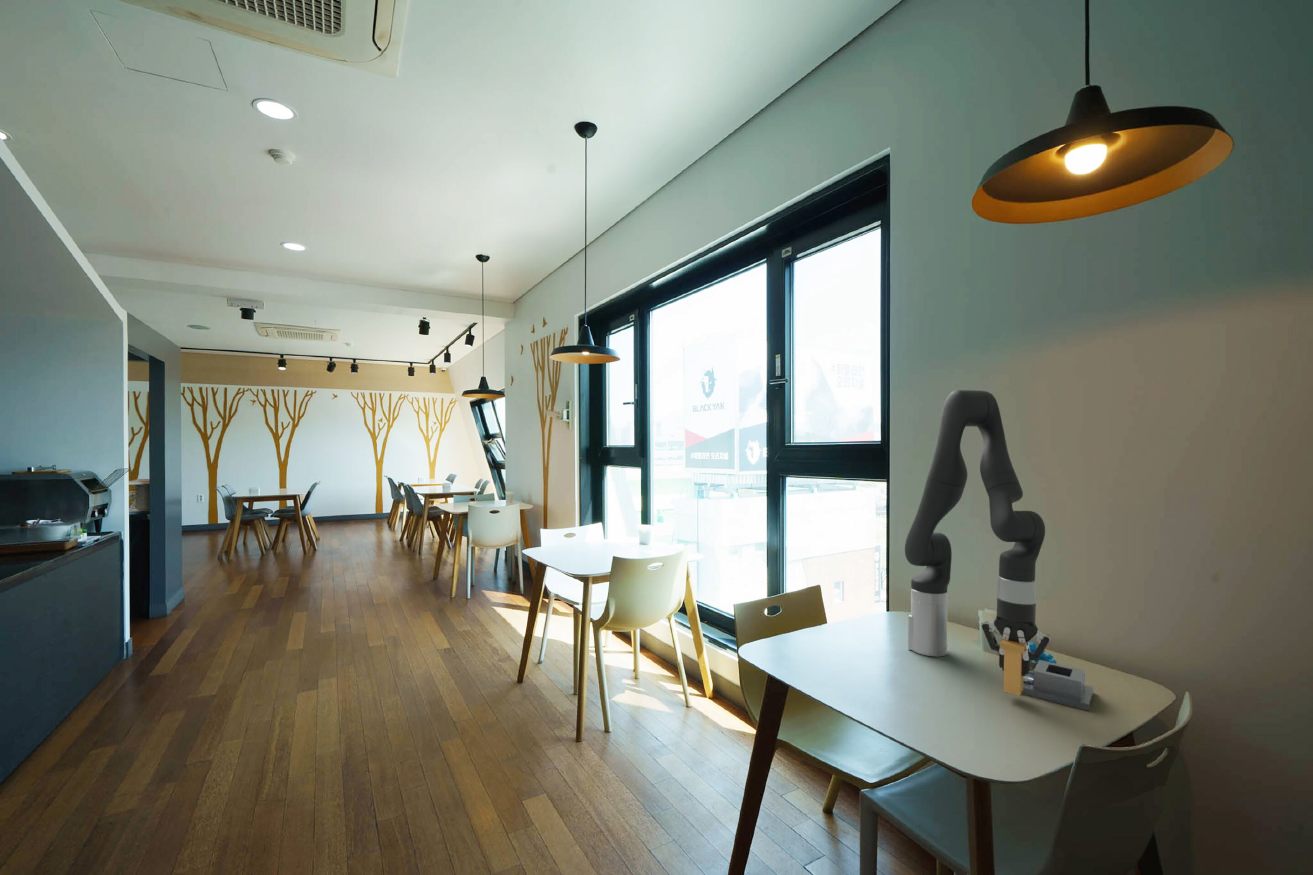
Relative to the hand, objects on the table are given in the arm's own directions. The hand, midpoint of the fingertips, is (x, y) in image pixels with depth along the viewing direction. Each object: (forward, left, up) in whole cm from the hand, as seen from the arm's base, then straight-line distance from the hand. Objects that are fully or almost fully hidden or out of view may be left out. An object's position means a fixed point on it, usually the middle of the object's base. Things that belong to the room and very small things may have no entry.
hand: (1014, 672), depth 130 cm
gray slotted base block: (+5, +11, -6) cm, 14 cm away
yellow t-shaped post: (0, 0, -4) cm, 4 cm away
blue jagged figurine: (0, +26, -7) cm, 27 cm away
